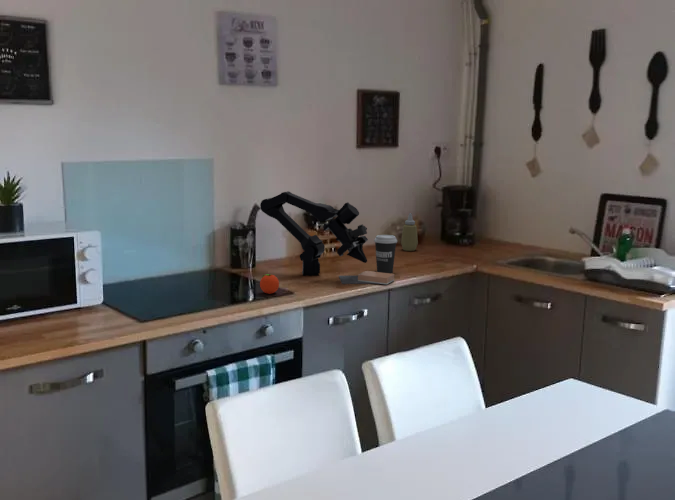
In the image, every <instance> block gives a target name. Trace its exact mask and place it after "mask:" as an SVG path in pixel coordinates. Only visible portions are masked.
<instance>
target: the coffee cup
mask: <svg viewBox="0 0 675 500" xmlns="http://www.w3.org/2000/svg"><path fill="white" fill-rule="evenodd" d="M373 242H374V244H375V261H376V262H375V264H376V272H382V273H391V274H394V264H395V255H396V248H397V246H396V245H397V243H398V238H397V237H396V236H395V235H392V234H378V235H376V236H375V238H374V240H373Z"/></svg>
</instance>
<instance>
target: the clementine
mask: <svg viewBox="0 0 675 500" xmlns="http://www.w3.org/2000/svg"><path fill="white" fill-rule="evenodd" d="M259 281H260V282H259V286H260V289H261V291H263V293H265V294H267V295H268V294H269V295H270V294H274V293H276V292H277V291H278V289H279V287H280V281H279V278H278V277H276V275H274V274H270V273H267V274H263V275H262V276H261V278H260V280H259Z"/></svg>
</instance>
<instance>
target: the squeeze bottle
mask: <svg viewBox="0 0 675 500" xmlns="http://www.w3.org/2000/svg"><path fill="white" fill-rule="evenodd" d="M400 239H401V240H400V244H401V246H402V247H401V248H402V250H403V251H405V252H414V251H416V249H417V247H418V244H419V241H418V226H417V225H416V220H414V219H413V214H412V213H411V212H409V214H408V215H407V220H405V222H404V225H403V226H402V233H401V238H400Z"/></svg>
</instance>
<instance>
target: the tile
mask: <svg viewBox="0 0 675 500" xmlns="http://www.w3.org/2000/svg"><path fill="white" fill-rule="evenodd" d="M357 275H358V281H362V282H371V283H378V284H381V285H389V284H390V283H392V282H394V281H395V273H382V272H377V271H370V270H365V271H362V272H361V273H358V274H357Z"/></svg>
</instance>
